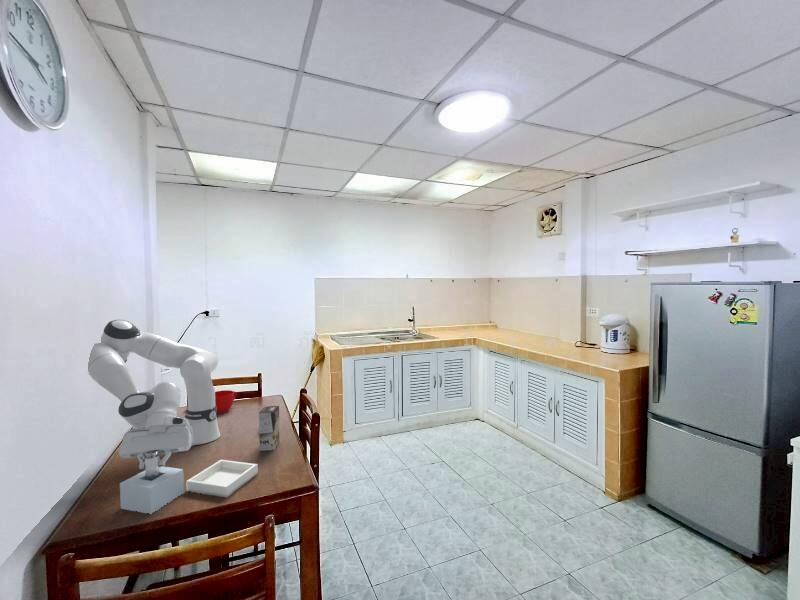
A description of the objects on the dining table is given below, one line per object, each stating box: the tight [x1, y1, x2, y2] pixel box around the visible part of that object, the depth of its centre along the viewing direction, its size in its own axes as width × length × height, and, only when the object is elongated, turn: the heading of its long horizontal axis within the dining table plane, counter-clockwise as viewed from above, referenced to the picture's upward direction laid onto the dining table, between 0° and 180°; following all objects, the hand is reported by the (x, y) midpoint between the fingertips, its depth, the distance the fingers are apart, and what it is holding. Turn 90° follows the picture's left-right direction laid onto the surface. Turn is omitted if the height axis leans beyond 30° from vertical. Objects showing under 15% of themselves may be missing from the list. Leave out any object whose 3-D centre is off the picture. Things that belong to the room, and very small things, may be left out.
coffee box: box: [258, 405, 281, 452], centre depth 159 cm, size 9×6×16 cm
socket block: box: [119, 466, 185, 515], centre depth 119 cm, size 12×12×8 cm
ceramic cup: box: [215, 389, 238, 414], centre depth 208 cm, size 13×17×10 cm
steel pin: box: [144, 450, 161, 481], centre depth 119 cm, size 4×4×10 cm
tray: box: [185, 459, 259, 498], centre depth 130 cm, size 16×16×4 cm
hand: (151, 467), depth 118 cm, fingers closed on steel pin, 4 cm apart
